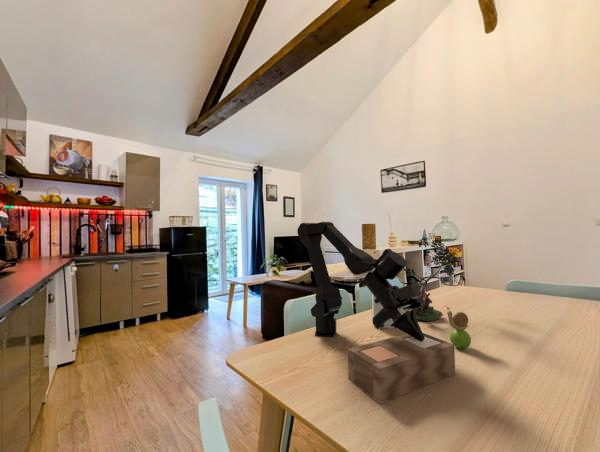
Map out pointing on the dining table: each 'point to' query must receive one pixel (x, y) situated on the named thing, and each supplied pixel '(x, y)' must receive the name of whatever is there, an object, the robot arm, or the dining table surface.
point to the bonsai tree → (425, 310)
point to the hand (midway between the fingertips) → (423, 340)
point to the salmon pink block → (379, 354)
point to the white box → (423, 342)
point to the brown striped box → (400, 367)
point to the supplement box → (376, 309)
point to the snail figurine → (459, 329)
